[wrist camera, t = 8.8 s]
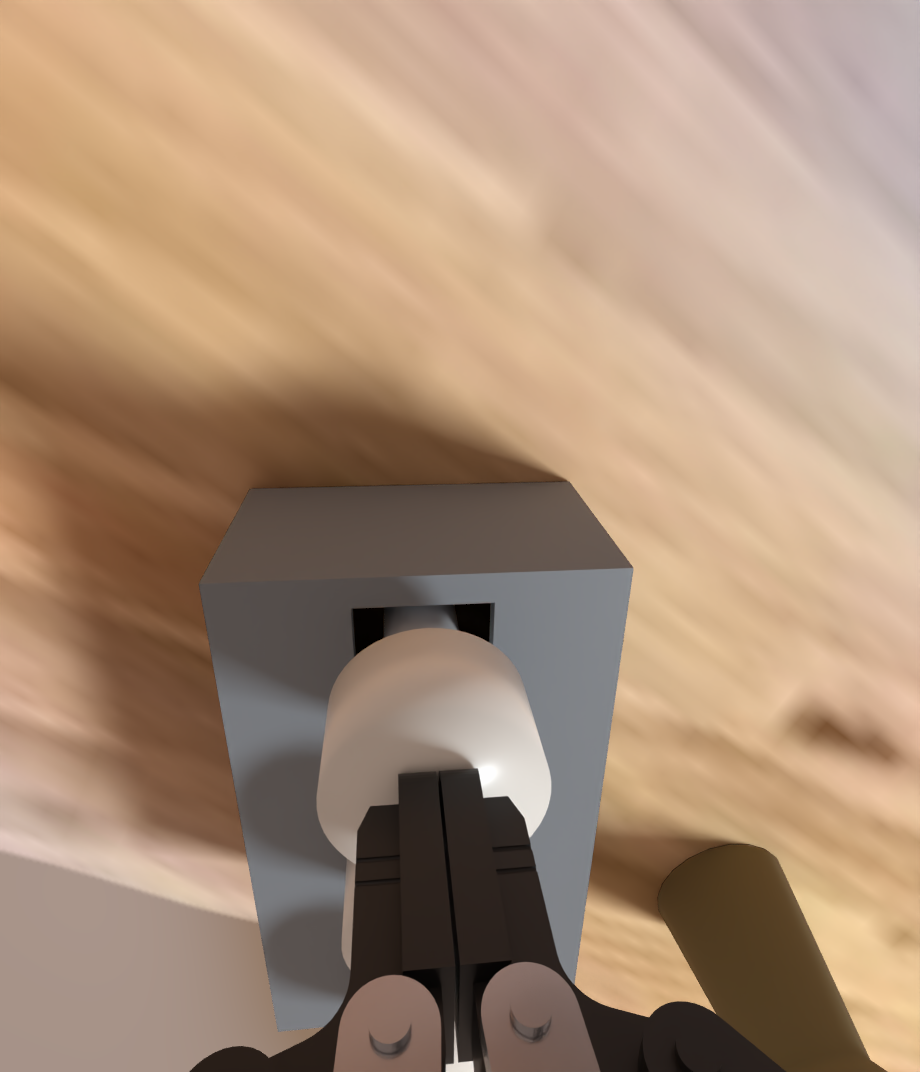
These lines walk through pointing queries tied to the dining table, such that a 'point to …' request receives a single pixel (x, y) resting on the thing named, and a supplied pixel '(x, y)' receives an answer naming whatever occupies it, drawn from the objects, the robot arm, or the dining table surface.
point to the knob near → (426, 722)
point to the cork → (760, 959)
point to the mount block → (329, 645)
